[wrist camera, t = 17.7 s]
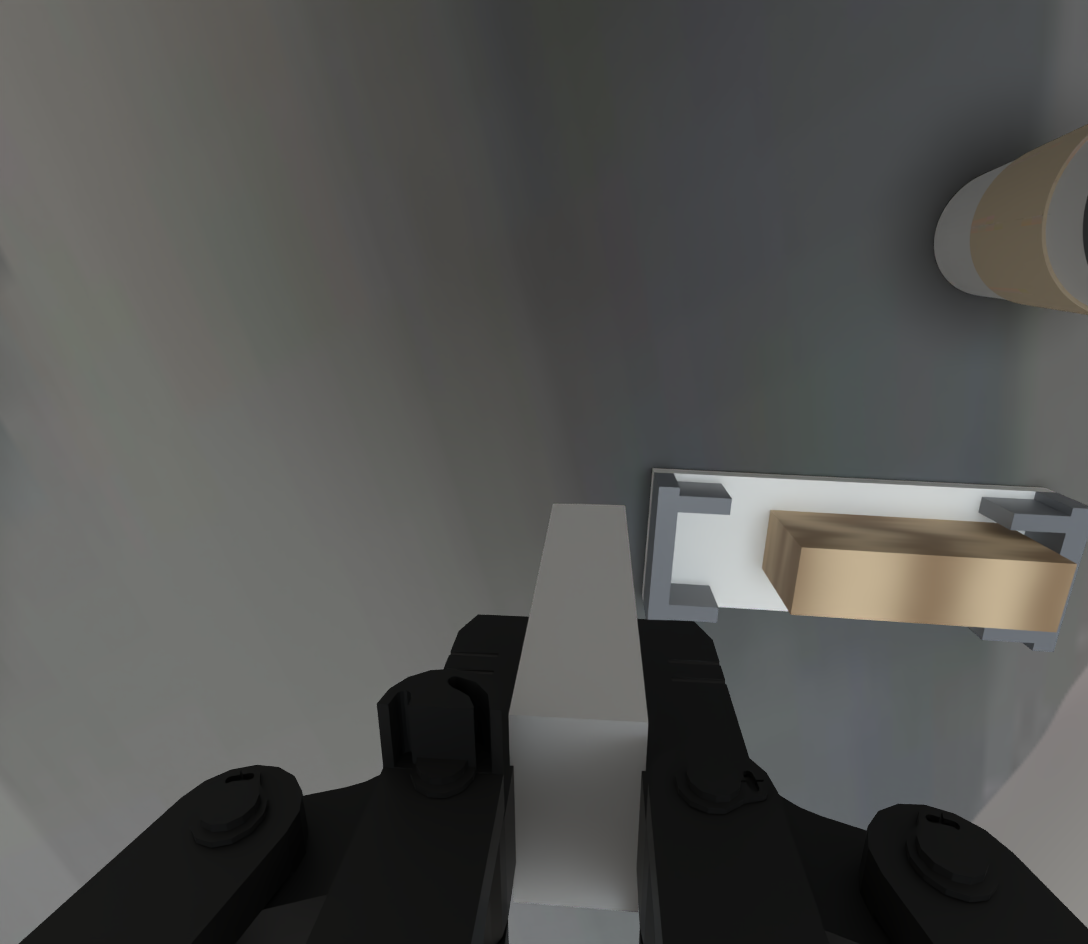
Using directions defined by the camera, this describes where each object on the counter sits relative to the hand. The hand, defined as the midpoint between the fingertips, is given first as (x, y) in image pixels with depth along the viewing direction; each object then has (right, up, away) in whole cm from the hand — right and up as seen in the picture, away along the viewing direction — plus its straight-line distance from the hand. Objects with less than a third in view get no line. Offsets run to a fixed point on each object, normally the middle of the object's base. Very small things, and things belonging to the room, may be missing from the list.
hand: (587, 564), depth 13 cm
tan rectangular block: (+20, -3, +26) cm, 33 cm away
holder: (+18, -3, +27) cm, 32 cm away
